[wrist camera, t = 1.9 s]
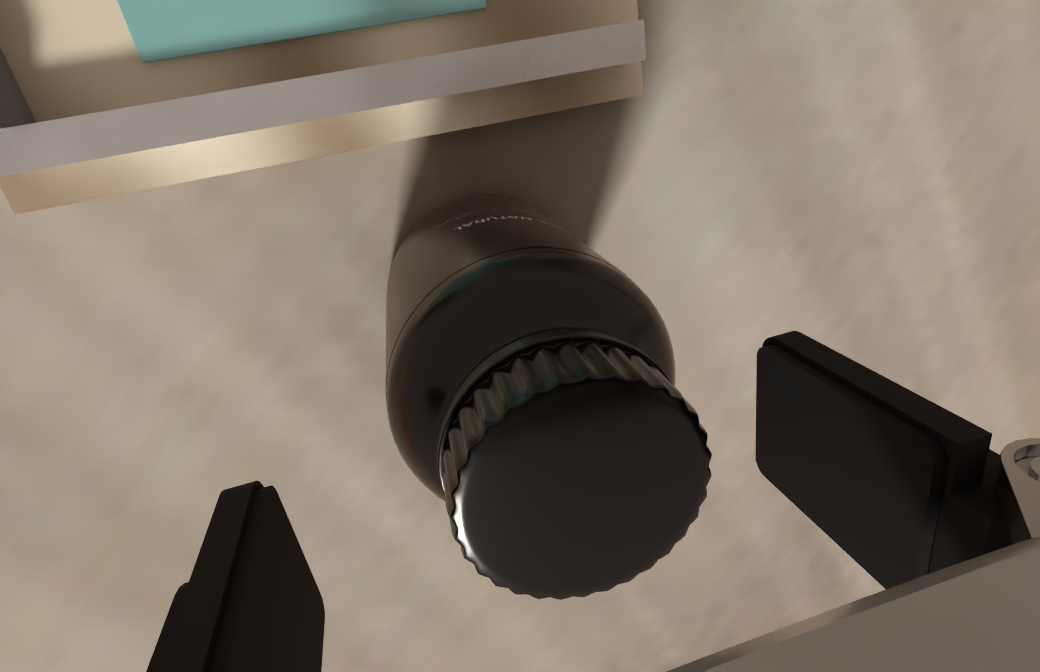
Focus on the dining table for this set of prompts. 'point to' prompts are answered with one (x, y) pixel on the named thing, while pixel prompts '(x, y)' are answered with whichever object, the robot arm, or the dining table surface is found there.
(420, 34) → the board
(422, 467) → the supplement bottle
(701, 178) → the dining table surface
